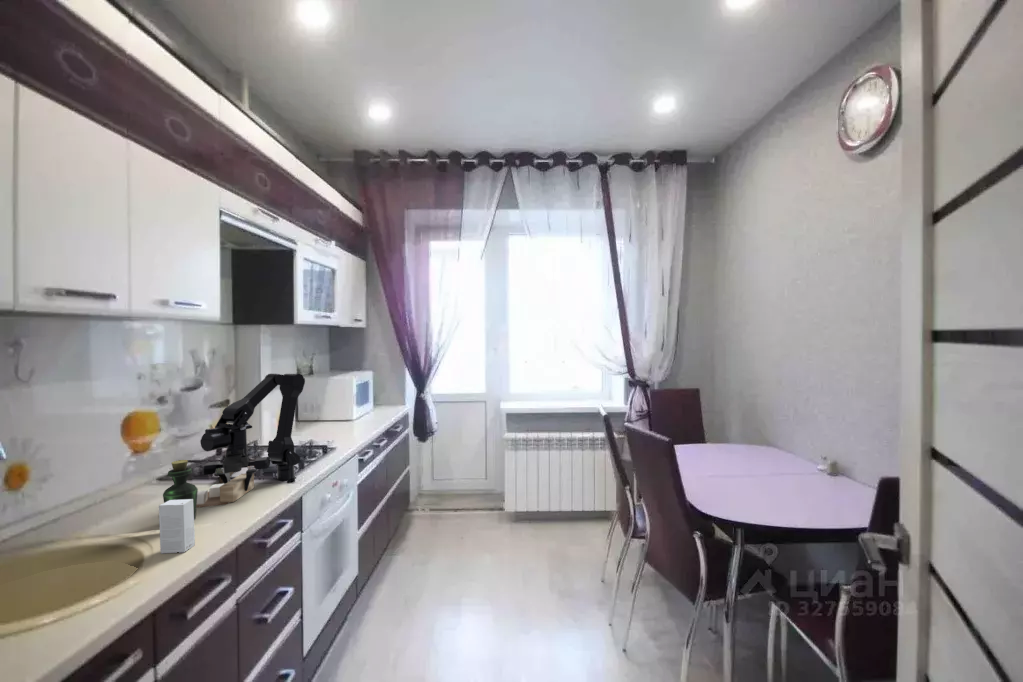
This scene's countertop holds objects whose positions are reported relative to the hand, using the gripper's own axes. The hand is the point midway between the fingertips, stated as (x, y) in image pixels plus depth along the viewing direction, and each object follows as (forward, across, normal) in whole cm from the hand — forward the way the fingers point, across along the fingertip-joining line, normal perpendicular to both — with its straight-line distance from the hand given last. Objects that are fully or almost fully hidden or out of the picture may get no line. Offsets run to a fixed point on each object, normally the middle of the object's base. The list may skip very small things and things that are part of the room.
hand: (237, 491), depth 155 cm
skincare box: (+2, -6, -37) cm, 38 cm away
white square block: (+1, -10, -3) cm, 11 cm away
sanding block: (+1, 0, 0) cm, 1 cm away
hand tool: (+3, -8, +25) cm, 27 cm away
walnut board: (+2, -8, 0) cm, 9 cm away
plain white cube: (+1, -6, +3) cm, 7 cm away
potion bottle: (+2, -10, -19) cm, 22 cm away
